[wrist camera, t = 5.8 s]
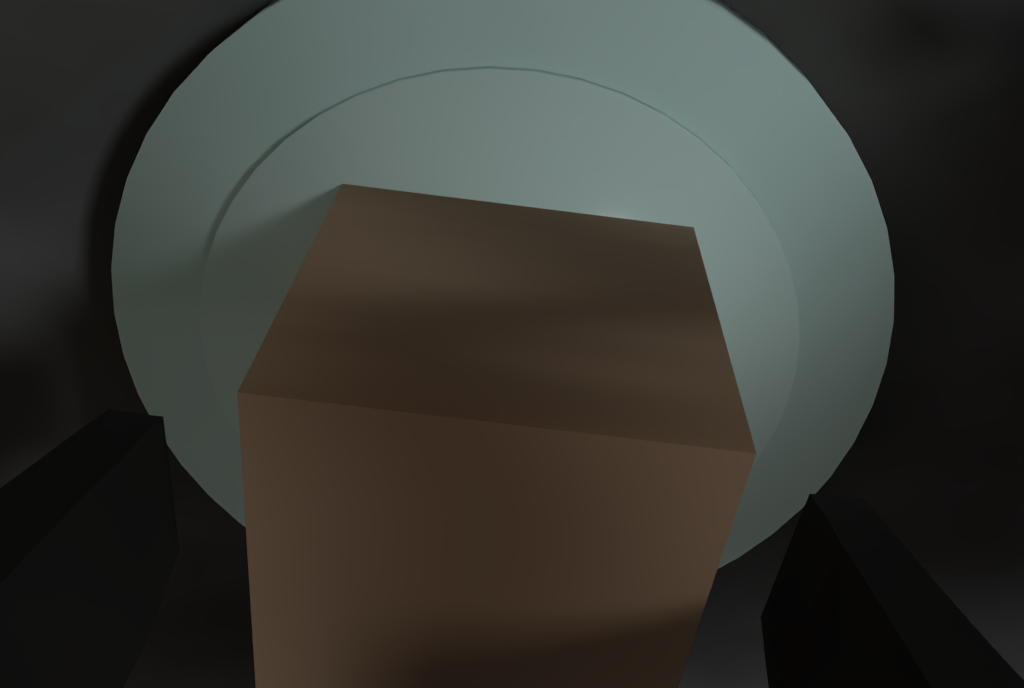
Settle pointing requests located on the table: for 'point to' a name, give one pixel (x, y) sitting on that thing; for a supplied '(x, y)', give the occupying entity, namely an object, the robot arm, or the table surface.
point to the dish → (511, 197)
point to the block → (488, 451)
